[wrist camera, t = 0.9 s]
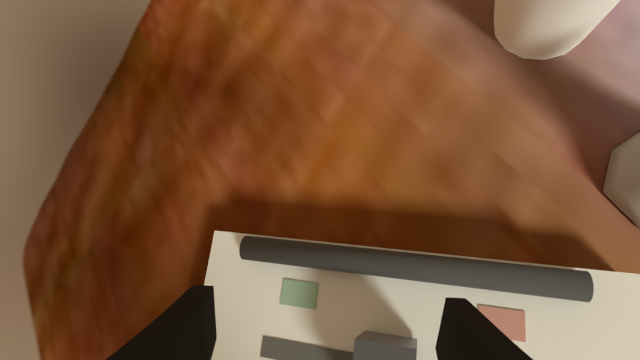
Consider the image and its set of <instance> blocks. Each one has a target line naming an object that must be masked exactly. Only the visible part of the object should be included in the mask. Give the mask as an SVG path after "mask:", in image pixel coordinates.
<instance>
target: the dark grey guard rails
mask: <svg viewBox="0 0 640 360" xmlns="http://www.w3.org/2000/svg"><path fill="white" fill-rule="evenodd" d="M239 254H240V257H241V259H243V260H251V261H259V262H267V263H275V264H283V265H291V266H299V267H307V268H315V269H323V270H331V271H339V272H348V273H356V274H364V275H372V276H380V277H388V278H396V279H404V280H412V281H420V282H428V283H436V284H444V285H452V286H460V287H468V288H476V289H485V290H493V291H501V292H509V293H517V294H525V295H533V296H541V297H549V298H557V299H565V300H573V301H581V302H590V301H591V300H592V297H593V292H594V285H593V279H592V276H591V274H590V273H589V272H588V271H580V270H571V269H561V268H552V267H542V266H532V265H523V264H513V263H504V262H494V261H485V260H475V259H465V258H456V257H446V256H437V255H427V254H418V253H408V252H398V251H389V250H379V249H370V248H360V247H351V246H341V245H332V244H322V243H312V242H303V241H293V240H284V239H274V238H265V237H255V236H244V237H243V239H242V240H241V243H240V248H239Z"/></svg>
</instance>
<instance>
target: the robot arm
mask: <svg viewBox="0 0 640 360" xmlns="http://www.w3.org/2000/svg"><path fill="white" fill-rule="evenodd" d="M216 339H217V334H216V318H215V302H214V286H207V285H193V286H192V287H191V288H190V289H188V290H187V291H186V292H185V293H184V294H183V295H182V296H181V297H180V298H179V299H177V300H176V301H175V302H174V303H173V304H172V305H171V306H170V307H169V308H168V309H166V310H165V311H164V312H163V313H162V314H161V315H160V316H159V317H157V318H156V319H155V320H154V321H153V322H152V323H151V324H149V325H148V326H147V327H146V328H145V329H144V330H143V331H141V332H140V333H139V334H138V335H137V336H135V337H134V338H133V339H132V340H130V341H129V342H128V343H127V344H125V345H124V346H123V347H121V348H120V349H119V350H118V351H116V352H115V353H114V354H113V355H111V356H110V357H109V358H107V359H106V360H211V358H212V354H213V350H214V347H215V343H216ZM435 350H436V354H437V359H438V360H533V359H532V358H531V357H530V356H528V355H527V354H526V353H525V352H524V351H523V350H521V349H520V348H519V347H518V346H517V345H516V344H515V343H514V342H512V341H511V340H510V339H509V338H508V337H507V336H506V335H505V334H504V333H503V332H501V331H500V330H499V329H498V328H497V327H496V326H495V325H494V324H493V323H492V322H491V321H490V320H489V319H488V318H486V317H485V316H484V315H483V314H482V313H481V312H480V311H479V310H478V309H477V308H476V307H475V306H474V305H473V304H471V303H470V302H469V301H468V300H467V299H466V298H450V297H446V299H445V304H444V308H443V313H442V318H441V323H440V328H439V333H438V338H437V342H436V347H435Z"/></svg>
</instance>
